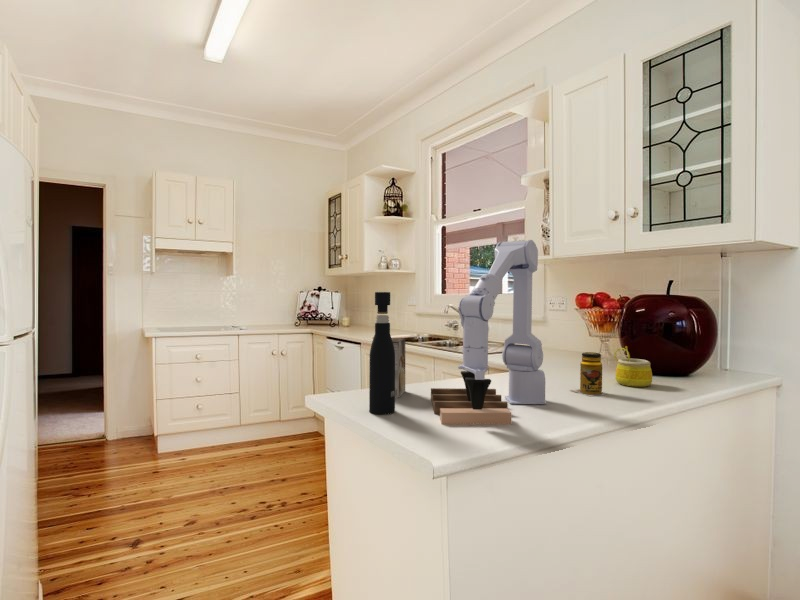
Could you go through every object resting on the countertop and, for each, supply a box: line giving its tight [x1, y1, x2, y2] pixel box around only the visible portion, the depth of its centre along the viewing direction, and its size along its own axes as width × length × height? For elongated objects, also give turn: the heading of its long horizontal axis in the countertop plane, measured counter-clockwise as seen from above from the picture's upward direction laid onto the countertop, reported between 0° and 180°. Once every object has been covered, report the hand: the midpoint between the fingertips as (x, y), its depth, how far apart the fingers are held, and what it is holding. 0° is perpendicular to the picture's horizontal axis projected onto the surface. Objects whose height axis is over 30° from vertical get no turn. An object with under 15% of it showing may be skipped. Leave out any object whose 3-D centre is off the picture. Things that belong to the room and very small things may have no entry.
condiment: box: [569, 351, 609, 397], centre depth 145 cm, size 7×8×12 cm
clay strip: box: [439, 408, 512, 425], centre depth 112 cm, size 16×4×3 cm, turn 91°
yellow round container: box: [614, 345, 653, 388], centre depth 157 cm, size 13×11×12 cm
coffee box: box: [391, 337, 406, 399], centre depth 141 cm, size 9×6×16 cm
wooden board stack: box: [430, 387, 509, 415], centre depth 127 cm, size 18×16×3 cm
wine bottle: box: [368, 291, 396, 416], centre depth 121 cm, size 6×6×30 cm
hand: (474, 405), depth 112 cm, fingers open, 7 cm apart
